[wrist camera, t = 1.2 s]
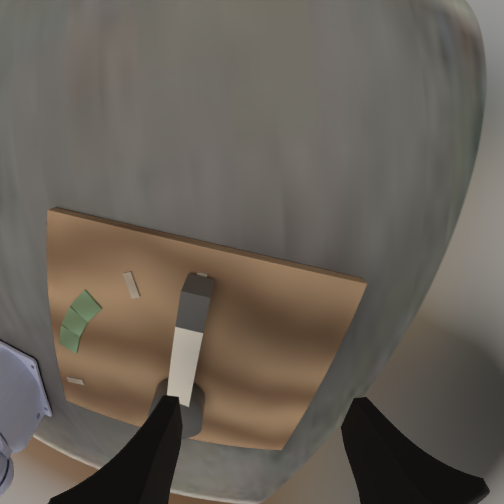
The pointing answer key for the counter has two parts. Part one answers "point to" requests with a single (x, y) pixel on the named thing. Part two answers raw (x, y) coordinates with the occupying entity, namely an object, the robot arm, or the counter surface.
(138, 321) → the board
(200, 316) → the peg
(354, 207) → the counter surface
